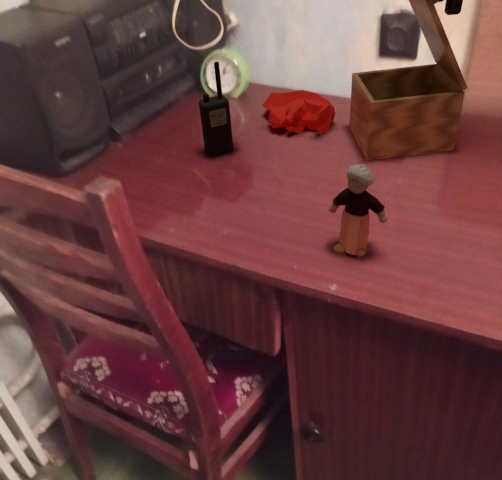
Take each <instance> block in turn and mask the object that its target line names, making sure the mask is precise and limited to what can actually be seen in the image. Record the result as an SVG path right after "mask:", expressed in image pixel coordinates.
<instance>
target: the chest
mask: <svg viewBox="0 0 502 480" xmlns="http://www.w3.org/2000/svg"><path fill="white" fill-rule="evenodd" d="M350 87H351V88H350V89H351V90H350V108H349V109H350V110H349V112H350V113H349V129H350V131H351V133H352V135H353V137H354V139H355V141H356V143H357V144H358V146H359V148H360V150H361V152H362V154H363V156H364V157H365V160H366V161H372V160H373V161H374V160H383V159H389V158H399V157H406V156H415V155H423V154H431V153H433V154H434V153H440V152H451V151H454V150H455V146H456V142H457V141H456V140H457V136H458V131H459V125H460V119H461V113H462V109H463V103H464V98H465V90H462V89H461V88H460V87H459V86H458V85H457V84H456V83H455V82H454V81H453V80H452V79H451V78H450V77H449V76H448V75H447V74H446V73H445V72H444V71H443V70H442V68H441V67H440V66H439V65H438V64H437V63H432V64H424V65H423V64H422V65H413V66H404V67H396V68H395V67H394V68H387V69H378V70H377V69H376V70H369V71H359V72H352V73H351V86H350Z"/></svg>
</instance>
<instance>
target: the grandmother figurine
mask: <svg viewBox="0 0 502 480" xmlns="http://www.w3.org/2000/svg"><path fill="white" fill-rule="evenodd" d="M346 178H347V186H348V187H346V188H344V189H343V190H342V191H341V192H339V193H338V194H337V195H336V196H335V197H334V198H333V199H332V202H331V204H330V205H329V207H328V208H329V209H328V212H329V213H331V214H335V213H336V212H337V211H338V209H339V208H340V206H344V208H343V210H342V214H341V221H340V229H339V237H338V243H337V244H335V245H334V247H333V250H334V251H336V252H338V253H347V254H349V255H352V256H355V257H363V256H365V255H366V252H367V247H368V246H367V245H368V239H369V235H370V211H371V212H373V213H374V214H375V215H376V216H377V217H378V221H379V223H381V224H385V223H387V222H388V218H387V215H386V211H385V208H386V207H385V205H384V204H383V203H382V202H381V200H379V199H378V198H377V197H376V196H374V195H373V194H371V193H370V192H369V191H367V189H369V187H370V186H372V185H373V183H374V181H376V179H375V177H374V175H373V172H372V171H371V169H369V168H368V167H367V165H365V164H362V163H361V164H358V163H356V164H355V163H354V164H352V165H350V166H349V167H348V169H347V172H346ZM369 210H370V211H369Z"/></svg>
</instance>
